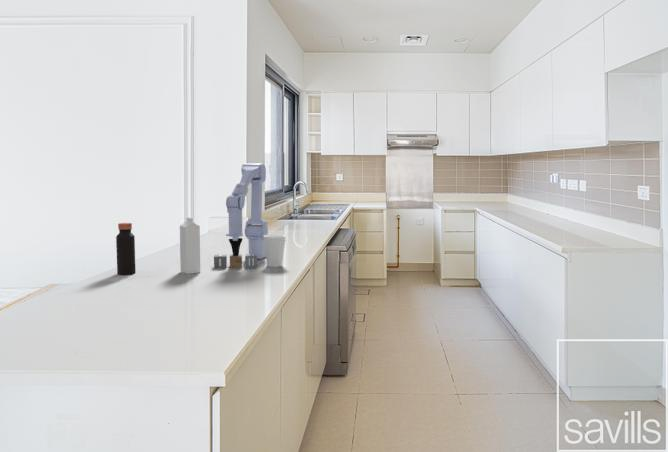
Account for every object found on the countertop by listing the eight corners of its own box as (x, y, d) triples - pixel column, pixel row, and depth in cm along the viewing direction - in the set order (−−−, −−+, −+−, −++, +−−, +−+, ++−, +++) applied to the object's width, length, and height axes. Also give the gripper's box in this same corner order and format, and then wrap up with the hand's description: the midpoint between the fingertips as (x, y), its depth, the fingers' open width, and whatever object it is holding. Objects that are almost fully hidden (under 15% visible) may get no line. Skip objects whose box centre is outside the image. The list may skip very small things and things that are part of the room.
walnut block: (230, 266, 243) (230, 254, 243) (241, 265, 244) (241, 254, 243) (229, 268, 238) (229, 256, 238) (241, 267, 239) (241, 256, 238)
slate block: (245, 265, 244) (245, 254, 244) (257, 265, 245) (257, 253, 244) (245, 267, 239) (245, 256, 239) (257, 267, 240) (257, 255, 239)
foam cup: (287, 264, 248) (287, 234, 247) (283, 267, 239) (283, 237, 238) (266, 263, 249) (265, 234, 248) (261, 267, 240) (261, 237, 239)
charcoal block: (214, 266, 242) (214, 254, 242) (226, 266, 243) (226, 254, 242) (214, 268, 237) (213, 256, 237) (226, 268, 238) (226, 256, 237)
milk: (186, 274, 223) (185, 218, 221) (180, 272, 228) (179, 217, 226) (200, 272, 227) (199, 218, 225) (194, 270, 232) (193, 216, 229)
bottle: (129, 275, 219) (128, 224, 217) (113, 274, 221) (112, 224, 219) (138, 272, 226) (137, 222, 224) (123, 271, 227) (122, 222, 225)
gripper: (226, 222, 246) (226, 252, 247) (225, 225, 231) (225, 258, 233) (243, 221, 247) (243, 252, 248) (242, 225, 232) (242, 258, 234)
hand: (235, 255), depth 241 cm, fingers closed, pressing on walnut block
